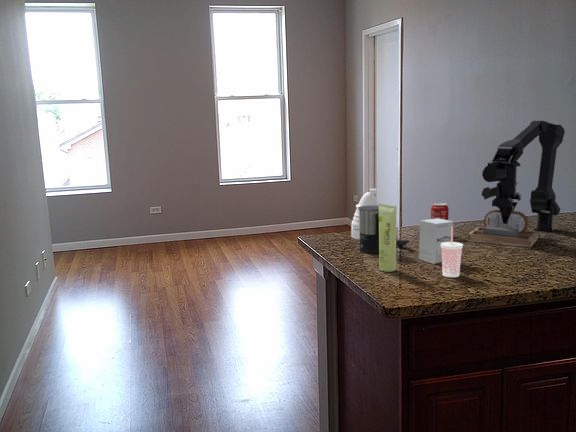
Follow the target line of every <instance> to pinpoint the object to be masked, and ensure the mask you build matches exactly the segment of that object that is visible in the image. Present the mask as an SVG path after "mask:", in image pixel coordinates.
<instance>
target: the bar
mask: <svg viewBox="0 0 576 432" xmlns="http://www.w3.org/2000/svg"><path fill="white" fill-rule="evenodd" d="M483 235H489V236H500V237H511V238H519V229H509V228H499V227H489V226H487V227H485V226H484V229H483Z"/></svg>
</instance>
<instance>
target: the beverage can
mask: <svg viewBox="0 0 576 432" xmlns="http://www.w3.org/2000/svg"><path fill="white" fill-rule="evenodd" d="M449 210H450V209H449V206H448V203H446V202H444V203H443V202H435V203H432V205H431V207H430V219H437V218H438V219H444V220H449V213H450V212H449Z"/></svg>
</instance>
